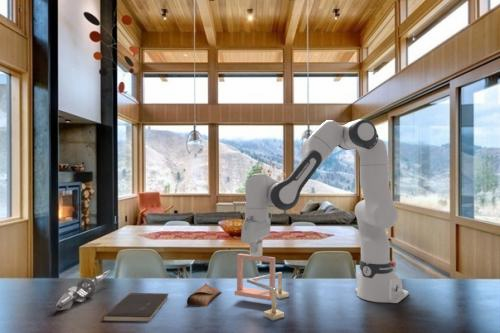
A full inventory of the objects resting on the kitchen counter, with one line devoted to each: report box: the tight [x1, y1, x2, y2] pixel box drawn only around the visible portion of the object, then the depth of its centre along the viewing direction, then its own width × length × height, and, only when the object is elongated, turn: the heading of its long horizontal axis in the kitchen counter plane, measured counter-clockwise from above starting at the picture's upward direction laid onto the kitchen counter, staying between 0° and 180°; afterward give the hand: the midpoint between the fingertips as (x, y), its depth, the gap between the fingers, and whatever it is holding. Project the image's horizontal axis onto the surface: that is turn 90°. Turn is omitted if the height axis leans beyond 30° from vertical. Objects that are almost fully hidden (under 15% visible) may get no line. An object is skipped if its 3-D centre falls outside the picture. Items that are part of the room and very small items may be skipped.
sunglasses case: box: [186, 283, 223, 308], centre depth 139 cm, size 18×7×7 cm
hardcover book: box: [102, 292, 169, 322], centre depth 128 cm, size 16×23×2 cm
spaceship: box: [54, 269, 112, 311], centre depth 139 cm, size 8×35×8 cm
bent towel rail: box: [246, 271, 290, 321], centre depth 131 cm, size 21×19×10 cm
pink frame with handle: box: [234, 241, 277, 302], centre depth 134 cm, size 6×15×20 cm, turn 66°
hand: (256, 251), depth 134 cm, fingers closed on pink frame with handle, 3 cm apart
